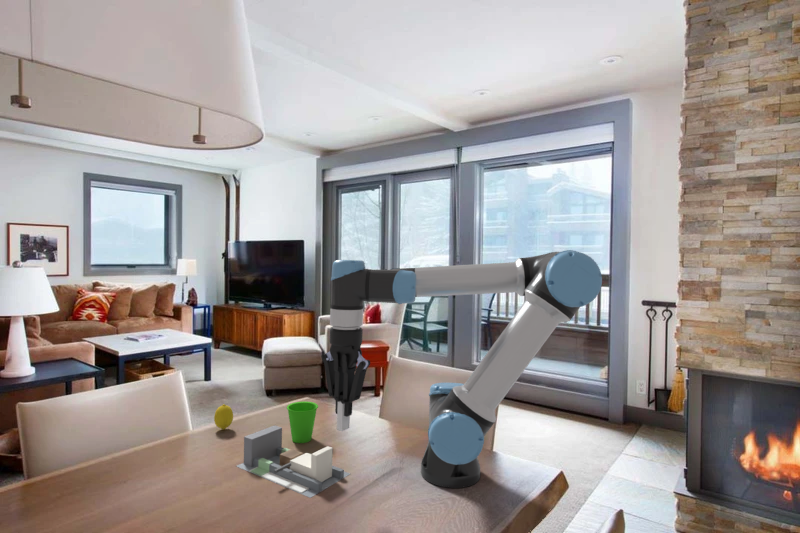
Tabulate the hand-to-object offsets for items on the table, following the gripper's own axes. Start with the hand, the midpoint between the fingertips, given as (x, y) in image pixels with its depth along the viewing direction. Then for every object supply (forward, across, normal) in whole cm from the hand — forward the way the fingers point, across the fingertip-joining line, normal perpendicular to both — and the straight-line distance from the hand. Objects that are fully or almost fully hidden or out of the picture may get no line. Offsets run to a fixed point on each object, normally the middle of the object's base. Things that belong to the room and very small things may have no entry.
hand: (343, 428), depth 105 cm
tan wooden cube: (+14, +17, 0) cm, 22 cm away
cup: (+16, +28, -15) cm, 36 cm away
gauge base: (+15, +16, 0) cm, 22 cm away
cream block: (+14, +10, +2) cm, 17 cm away
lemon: (+16, +55, -8) cm, 58 cm away
